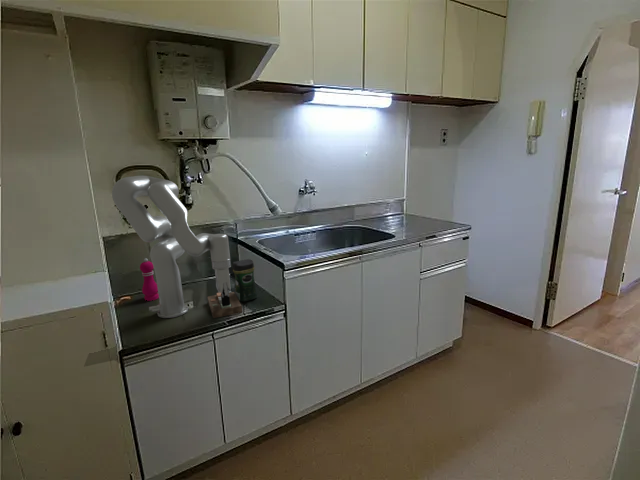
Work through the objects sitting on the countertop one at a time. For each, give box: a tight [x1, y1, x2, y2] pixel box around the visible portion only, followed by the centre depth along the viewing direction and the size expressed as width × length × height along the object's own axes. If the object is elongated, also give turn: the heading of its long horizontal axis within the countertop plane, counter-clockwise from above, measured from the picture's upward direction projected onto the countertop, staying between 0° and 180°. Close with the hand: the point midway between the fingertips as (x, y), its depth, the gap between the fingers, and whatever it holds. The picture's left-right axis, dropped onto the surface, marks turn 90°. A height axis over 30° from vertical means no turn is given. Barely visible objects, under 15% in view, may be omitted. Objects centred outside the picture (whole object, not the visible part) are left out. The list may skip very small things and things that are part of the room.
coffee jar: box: [232, 258, 258, 303], centre depth 171 cm, size 10×8×19 cm
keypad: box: [207, 291, 243, 319], centre depth 164 cm, size 12×18×3 cm, turn 23°
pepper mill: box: [139, 257, 159, 302], centre depth 175 cm, size 7×7×20 cm
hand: (226, 304), depth 158 cm, fingers closed
